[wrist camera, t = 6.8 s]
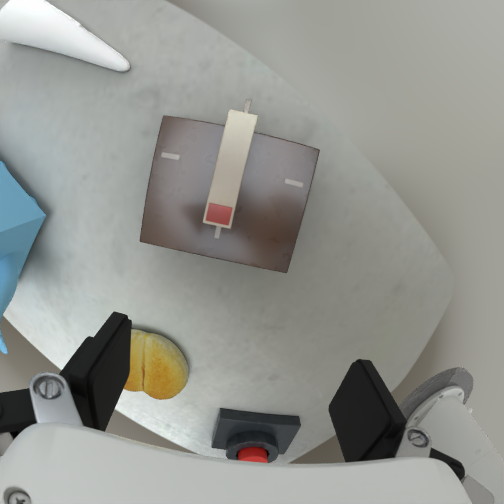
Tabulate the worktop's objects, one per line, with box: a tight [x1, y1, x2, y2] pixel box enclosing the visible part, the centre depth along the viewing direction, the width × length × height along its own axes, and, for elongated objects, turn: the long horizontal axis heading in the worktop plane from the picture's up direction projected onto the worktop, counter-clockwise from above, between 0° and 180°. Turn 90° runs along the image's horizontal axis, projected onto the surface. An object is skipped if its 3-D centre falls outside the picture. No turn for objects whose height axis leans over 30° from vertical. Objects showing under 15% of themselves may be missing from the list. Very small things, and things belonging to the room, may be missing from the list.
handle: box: [203, 109, 258, 229], centre depth 18 cm, size 6×2×6 cm, turn 166°
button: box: [238, 447, 268, 463], centre depth 29 cm, size 4×4×2 cm
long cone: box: [0, 0, 130, 72], centre depth 17 cm, size 6×6×19 cm
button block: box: [212, 408, 301, 463], centre depth 31 cm, size 10×8×4 cm
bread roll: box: [124, 329, 189, 400], centre depth 27 cm, size 8×9×4 cm
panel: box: [140, 99, 320, 273], centre depth 22 cm, size 12×12×3 cm
